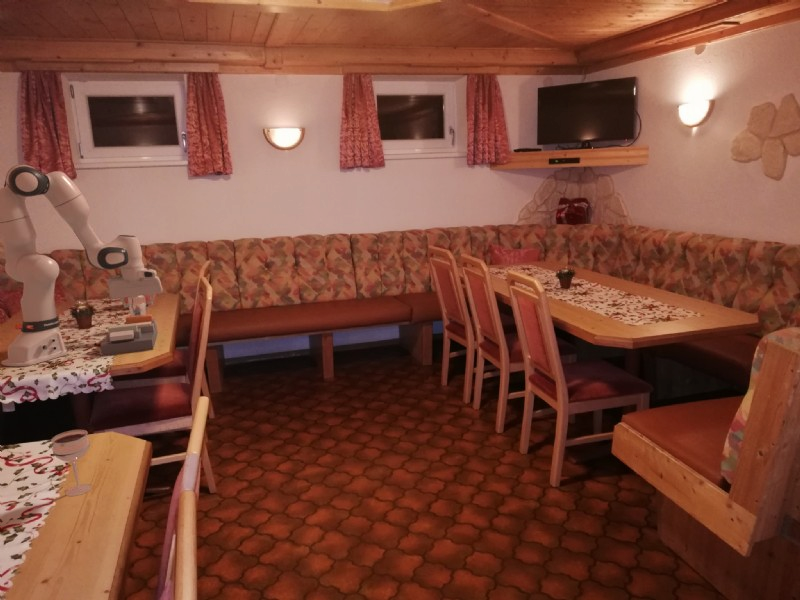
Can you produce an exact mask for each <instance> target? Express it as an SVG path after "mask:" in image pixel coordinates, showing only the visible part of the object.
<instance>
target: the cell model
mask: <svg viewBox="0 0 800 600" xmlns="http://www.w3.org/2000/svg"><path fill="white" fill-rule="evenodd" d="M156 295H157V294H154V298H153V300H152V302H153V301H154V299H155V298H156ZM144 297H145V302H146V306H147V305H148V306H149V303H148V301H150V300H151V298H152V297H150V295H144ZM124 302H125V303H128V297H125V298H124ZM128 307H129V303H128Z"/></svg>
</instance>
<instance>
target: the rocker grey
mask: <svg viewBox="0 0 800 600" xmlns="http://www.w3.org/2000/svg"><path fill="white" fill-rule="evenodd" d="M133 337H134V332H133V330H129V331H120V332H112V333H110V341H116V340H124V339H133Z"/></svg>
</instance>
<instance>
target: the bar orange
mask: <svg viewBox="0 0 800 600" xmlns="http://www.w3.org/2000/svg"><path fill="white" fill-rule="evenodd" d="M153 319H154V318H153V314H152V313H148V314H147V313H146V315H137V316H131V315H130V316H125V322H126V324H133V323H142V322H152V321H153Z"/></svg>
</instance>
